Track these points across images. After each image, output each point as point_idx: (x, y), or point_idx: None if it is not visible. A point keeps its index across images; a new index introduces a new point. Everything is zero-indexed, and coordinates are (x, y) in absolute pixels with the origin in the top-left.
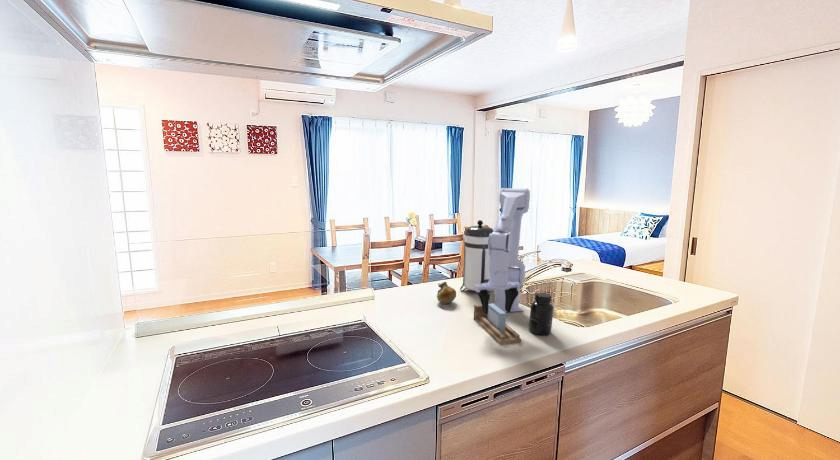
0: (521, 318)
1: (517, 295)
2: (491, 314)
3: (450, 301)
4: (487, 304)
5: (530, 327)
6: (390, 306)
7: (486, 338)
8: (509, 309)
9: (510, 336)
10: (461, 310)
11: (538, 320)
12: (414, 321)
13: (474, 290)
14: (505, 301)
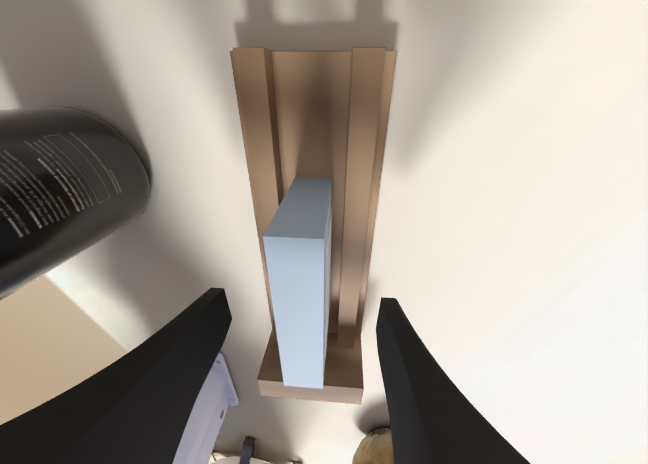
0: (164, 302)
1: (6, 422)
2: (327, 308)
3: (381, 436)
4: (413, 365)
5: (131, 178)
6: (570, 451)
7: (419, 156)
8: (205, 300)
9: (288, 108)
10: (364, 391)
11: (16, 143)
12: (598, 369)
13: (267, 462)
14: (204, 380)
